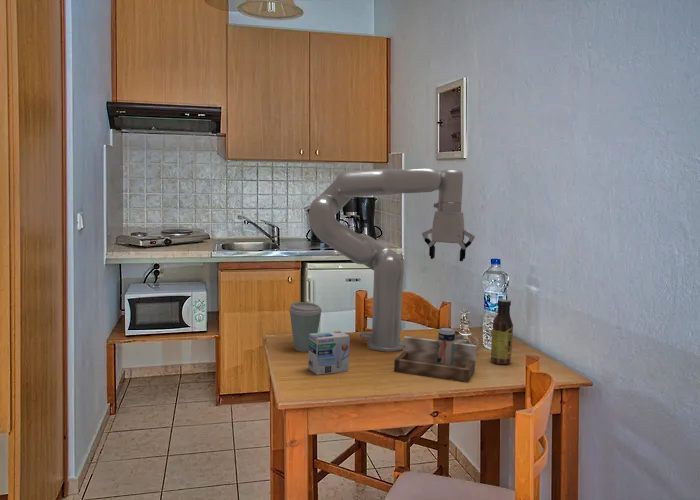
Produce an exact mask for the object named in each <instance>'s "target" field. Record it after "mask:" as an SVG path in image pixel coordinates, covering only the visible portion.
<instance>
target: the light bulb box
mask: <svg viewBox="0 0 700 500" xmlns="http://www.w3.org/2000/svg"><path fill="white" fill-rule="evenodd" d="M350 339H351V337H350V335H349V334H347V333H345V332H344V331H342V330H334V331H323V332H318V333H312V334H309V352H308V360H307V361H308V364H307V365H308V366H307V369H308V370H310V371H311V372H312V373H314V374H315V375H316V376H318V375H328V374H334V373H335V374H337V373H343V372H349V363H350V341H351V340H350Z"/></svg>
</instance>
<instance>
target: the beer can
mask: <svg viewBox="0 0 700 500" xmlns="http://www.w3.org/2000/svg"><path fill="white" fill-rule="evenodd" d="M437 337H438V338H437V340H438V351H437V364H439V365H446V366H453V358H454V341H455V330H454V328H451V327H441V328H439V330H438V335H437Z"/></svg>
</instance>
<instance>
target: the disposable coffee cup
mask: <svg viewBox="0 0 700 500" xmlns="http://www.w3.org/2000/svg"><path fill="white" fill-rule="evenodd" d="M288 312H289V315H290V316H289V317H290V326H291V332H292V340H293V347H294V348H295V351H298V352H303V353H307V352H308V353H309V334H312V333H319V326H320V321H321V315H322V313H323V311H322V308H321V307H320V306H319V305H318V304H316V303H312V302H306V301H305V302H304V301H303V302H302V301H296V302H295V301H294V302H292V303H291V304H290V307H289V310H288Z"/></svg>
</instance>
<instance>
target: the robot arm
mask: <svg viewBox="0 0 700 500" xmlns="http://www.w3.org/2000/svg"><path fill="white" fill-rule="evenodd" d="M463 183H464V174H463V171H462V170H461V169H435V168H431V167H425V168H413V169H412V168H411V169H410V168H409V169H394V168H393V169H392V168H377V169H376V168H375V169H359V170H358V169H356V170H344V171H341V172H340V173H338V175H337V176H336V178H335V180H333V181H332V183H330V185H329V186H328V187H326V189H324V191H322V192H321V194H319V196H317V197H315V199H314V200H312V201H311V203H310V206H309V211H308V221H309V226H310V228H311V230H312V232H313V234H314V235H315V236H316V238H317V239H318V240H320V241H322V243H324V244H326V245H327V246H329V247H330V248H332V249H333V250H335V251H336V252H338V253H340V255H343V256H344V257H346V258H348V260H350V261H351V262H353V263H355V264H356V265H364V266H365V267H367V268H368V269H370V270H372V271H373V288H372V289H373V293H372V320H371V321H372V323H371V324H372V325H371V326H372V327H371V331H369V332H368V331H360V338H361V339H367V342H366V347H367V348H369V349H371V350H373V351H379V352H399V351H401V350H402V351H403V345H404V341H401V328H402V327H401V324H402V323H401V322H402V321H401V320H402V306H403V305H402V301H403V300H402V299H403V283H404V263H403V261H402V258H401V256H400V254H398V253H397V252H396V251H394V250H393V249H391V248H390V247H388V246H387V245H385V244H383V243H382V242H379V241H378V240H376V239H375V238H373V236H370V235H368V234H365V233H358V232H355V231H354V230H352V229H350V228H349V227H348V226H347V225H345V224H343V223H341V222H340V221H338V219H337V218H336V215H337V214H338V213H339V212H340V211H341V210H342V209H343V208H344V207H345V206H346V205H347V204H348V203H349V202H350V201H351V200H352V198H354V197H367V196H368V197H369V196H370V197H371V196H390V195H391V196H392V195H396V194H399V195H400V194H417V193H418V194H419V193H420V194H421V193H432V192H434V191H438V200H437V202H436V203H433V208H435V209H437V211H434V215H433V221H432V228H431V229H427V230H425V231H423V232H421V235H422V238H423V240H424V242H425V243H426V244H427V246H428V248H429V250H428V256H429V257H430V260H433V259H435V258H436V246H435V244H436V243H443V244H444V243H446V244H458V245H459V246H460V250H459V262H463V261H464V260H465V259H466V253H467V252H466V249H467V248H468V247H469V246H471V245H472V243H473V242H474V240H475V239H476V237H475V235H473V233H470V232H469V231H467V230H465V217H464V212H462V200H463V199H462V198H463ZM428 235H431V239H430V238H429V236H428ZM465 237H467V238H468V240H467V242H465V241H464V240H465Z"/></svg>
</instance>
